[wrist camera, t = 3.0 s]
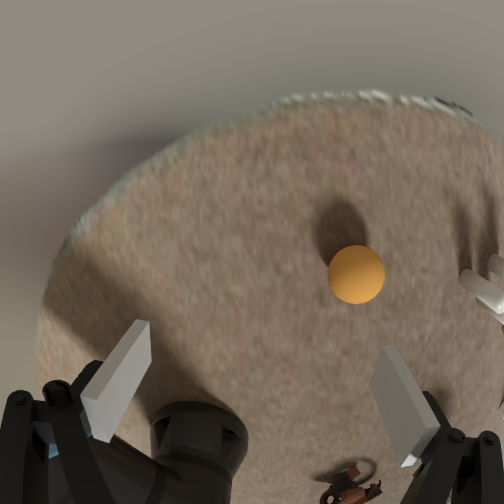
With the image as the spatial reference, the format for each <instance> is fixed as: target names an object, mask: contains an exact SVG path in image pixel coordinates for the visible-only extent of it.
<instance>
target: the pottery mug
mask: <svg viewBox="0 0 504 504" xmlns="http://www.w3.org/2000/svg"><path fill="white" fill-rule="evenodd" d="M359 475H360V472H359V471H358V469H357V468H356V466H354V467H352V468H350V469H348V470H346V471H344V472H342V473H339V474H338V475H336V476H334V477H333V478H332V479H331V480H332V485H330V487H329V489H328V490H327V491H326V492H324V493H323V494H322V496H321V498H320V504H328V503H327V500H328V497H329V496H333V497H334V500H333V502H332V503H331V504H365V503H367V502H368V501H370V500H372V499H374V498H375V497H377V496H379V495H380V494H381V493H382V491H381V489H380V487H381V480H379V484H377V485H376V484H375V483H373V484H370V488H367V489H364V488H362V487H357V486H356V485H355V484H354V483H353V481H352V480H353V479H354V478H356V477H357V476H359ZM339 497H340V498H341V499H342V500H340V499H339Z"/></svg>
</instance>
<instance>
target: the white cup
mask: <svg viewBox="0 0 504 504" xmlns="http://www.w3.org/2000/svg"><path fill="white" fill-rule="evenodd" d="M499 414H500V415H501V417H502V418H503V420H504V401H503V403H502V404H501V406H500V409H499Z"/></svg>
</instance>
